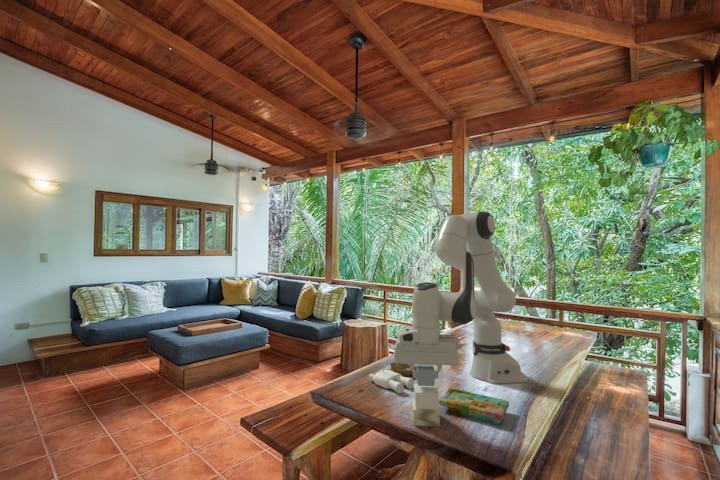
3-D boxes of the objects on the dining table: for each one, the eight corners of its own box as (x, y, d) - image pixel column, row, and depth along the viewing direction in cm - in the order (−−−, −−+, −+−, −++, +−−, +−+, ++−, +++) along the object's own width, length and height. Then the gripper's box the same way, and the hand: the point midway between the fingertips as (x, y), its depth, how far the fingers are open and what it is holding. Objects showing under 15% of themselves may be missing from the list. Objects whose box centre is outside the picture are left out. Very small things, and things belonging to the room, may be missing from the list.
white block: (435, 399, 113) (435, 384, 113) (438, 409, 106) (438, 393, 106) (413, 398, 114) (414, 383, 114) (415, 408, 107) (415, 392, 107)
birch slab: (436, 414, 114) (436, 399, 114) (439, 427, 106) (439, 410, 106) (411, 413, 114) (411, 398, 114) (413, 426, 106) (413, 409, 106)
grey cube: (432, 379, 113) (432, 364, 113) (434, 386, 108) (434, 370, 108) (416, 379, 113) (416, 364, 113) (418, 385, 108) (418, 369, 108)
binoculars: (397, 395, 128) (397, 383, 128) (366, 383, 139) (366, 371, 139) (414, 387, 135) (414, 375, 135) (384, 376, 147) (384, 365, 147)
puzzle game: (502, 413, 105) (438, 397, 116) (501, 428, 105) (438, 411, 116) (508, 398, 115) (449, 385, 126) (508, 413, 115) (449, 398, 126)
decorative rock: (382, 373, 151) (410, 383, 141) (382, 364, 151) (410, 374, 141) (397, 365, 160) (425, 374, 149) (397, 356, 160) (425, 365, 149)
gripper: (456, 332, 113) (456, 375, 113) (393, 330, 115) (393, 372, 114) (460, 337, 107) (460, 382, 107) (394, 335, 108) (394, 380, 108)
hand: (425, 377), depth 111 cm, fingers closed on grey cube, 5 cm apart
